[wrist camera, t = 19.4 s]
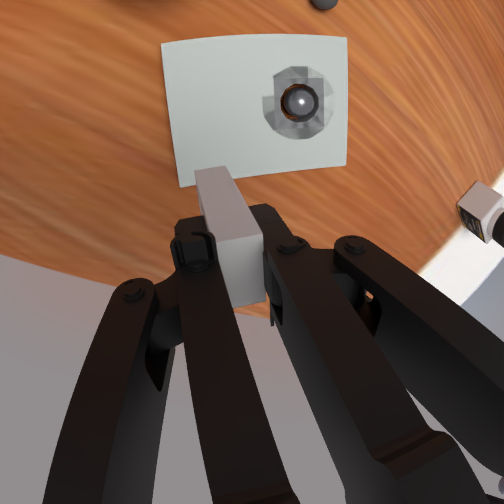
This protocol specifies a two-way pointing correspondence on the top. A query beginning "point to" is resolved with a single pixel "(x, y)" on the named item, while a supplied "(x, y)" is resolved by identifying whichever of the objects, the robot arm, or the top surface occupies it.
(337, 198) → the top surface
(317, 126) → the board
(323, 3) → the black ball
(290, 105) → the steel ball
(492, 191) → the medicine bottle
